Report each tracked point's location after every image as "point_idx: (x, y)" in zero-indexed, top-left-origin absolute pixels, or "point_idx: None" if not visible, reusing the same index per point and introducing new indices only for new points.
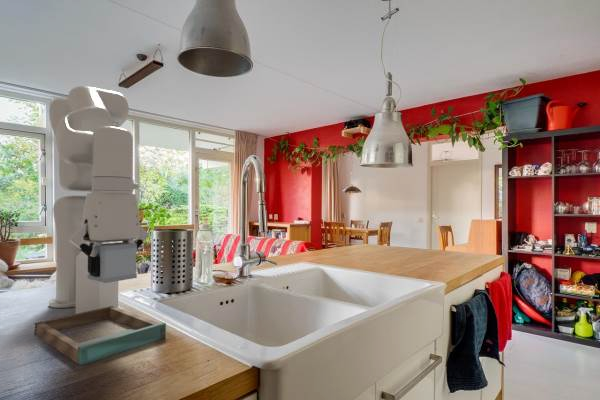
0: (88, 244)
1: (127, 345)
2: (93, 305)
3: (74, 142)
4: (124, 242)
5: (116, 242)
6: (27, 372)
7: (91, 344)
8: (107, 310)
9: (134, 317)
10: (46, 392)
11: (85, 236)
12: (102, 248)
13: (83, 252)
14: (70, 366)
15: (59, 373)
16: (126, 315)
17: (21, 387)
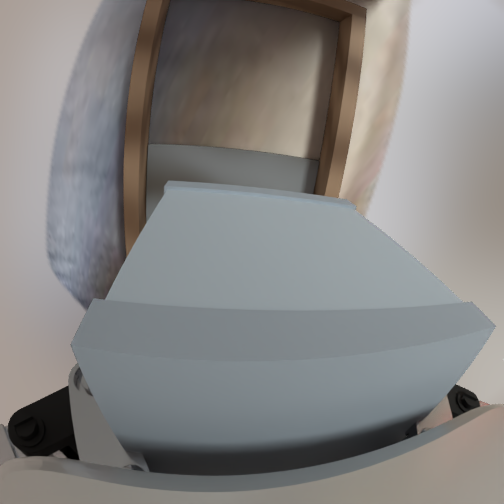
0: (80, 358)
1: None
2: None
3: None
4: (407, 432)
5: (427, 392)
6: (70, 213)
7: None
8: (344, 14)
9: (331, 160)
10: (83, 303)
11: (17, 497)
12: None
13: (57, 391)
14: (122, 249)
15: (103, 261)
16: (338, 113)
17: (60, 262)
